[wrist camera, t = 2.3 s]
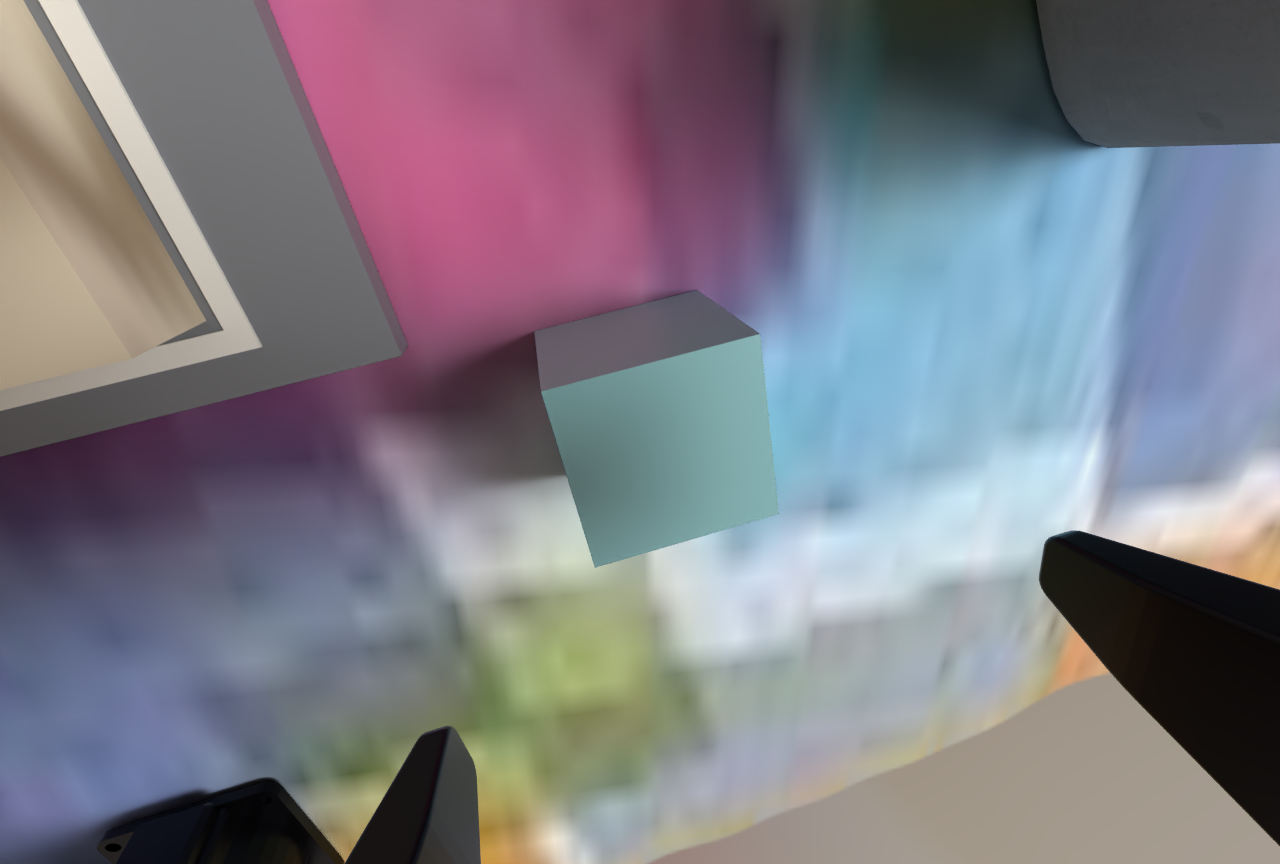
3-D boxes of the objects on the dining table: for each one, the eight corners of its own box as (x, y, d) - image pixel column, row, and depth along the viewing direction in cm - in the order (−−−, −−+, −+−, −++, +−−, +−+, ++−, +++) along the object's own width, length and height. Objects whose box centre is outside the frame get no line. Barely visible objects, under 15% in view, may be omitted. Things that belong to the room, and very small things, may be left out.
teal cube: (718, 433, 19) (778, 513, 15) (576, 472, 19) (595, 567, 14) (696, 289, 17) (759, 333, 13) (534, 330, 17) (540, 391, 12)
